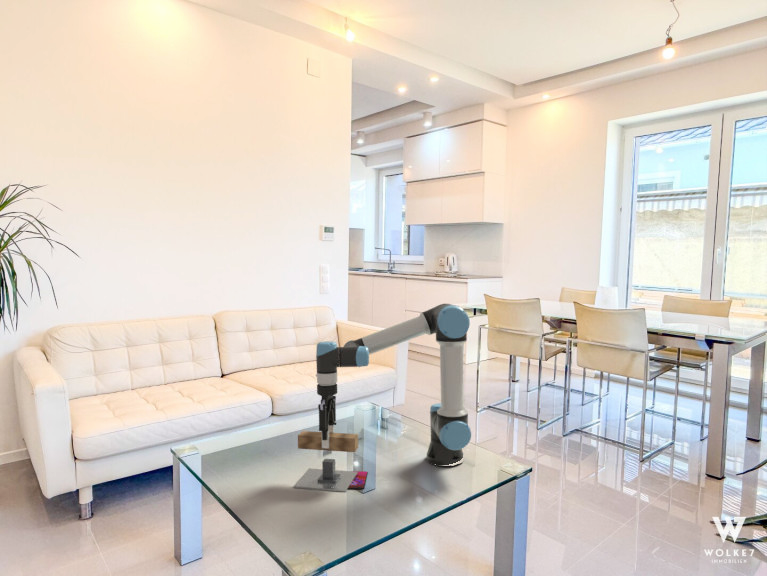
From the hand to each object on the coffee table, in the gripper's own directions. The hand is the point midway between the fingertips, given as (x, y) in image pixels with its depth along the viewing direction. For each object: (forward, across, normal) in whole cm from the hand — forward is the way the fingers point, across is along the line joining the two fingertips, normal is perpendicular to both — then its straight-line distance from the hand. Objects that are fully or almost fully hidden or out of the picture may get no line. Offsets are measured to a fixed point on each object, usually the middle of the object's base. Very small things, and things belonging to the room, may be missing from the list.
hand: (328, 445), depth 180 cm
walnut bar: (+1, 0, 0) cm, 1 cm away
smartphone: (+14, -2, +10) cm, 17 cm away
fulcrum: (+13, 0, 0) cm, 13 cm away
